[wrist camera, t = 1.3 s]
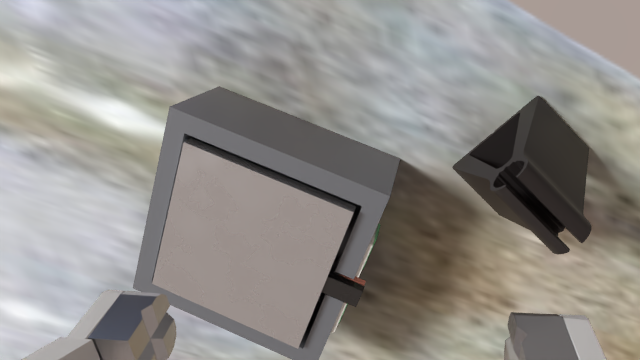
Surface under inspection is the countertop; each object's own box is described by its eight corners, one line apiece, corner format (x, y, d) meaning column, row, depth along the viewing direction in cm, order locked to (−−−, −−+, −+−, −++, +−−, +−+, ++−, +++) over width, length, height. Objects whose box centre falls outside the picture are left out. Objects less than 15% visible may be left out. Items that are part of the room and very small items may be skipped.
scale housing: (405, 160, 44) (396, 198, 35) (339, 311, 51) (319, 371, 43) (219, 86, 45) (169, 106, 37) (181, 242, 53) (132, 288, 44)
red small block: (365, 280, 40) (364, 284, 39) (358, 295, 40) (357, 299, 40) (340, 270, 40) (339, 274, 39) (334, 285, 41) (332, 289, 40)
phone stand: (538, 94, 39) (575, 133, 28) (587, 147, 40) (642, 204, 29) (451, 165, 43) (454, 224, 32) (498, 213, 43) (516, 286, 32)
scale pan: (393, 221, 37) (391, 228, 36) (333, 353, 42) (330, 363, 41) (191, 138, 38) (183, 142, 37) (159, 276, 44) (152, 283, 43)
